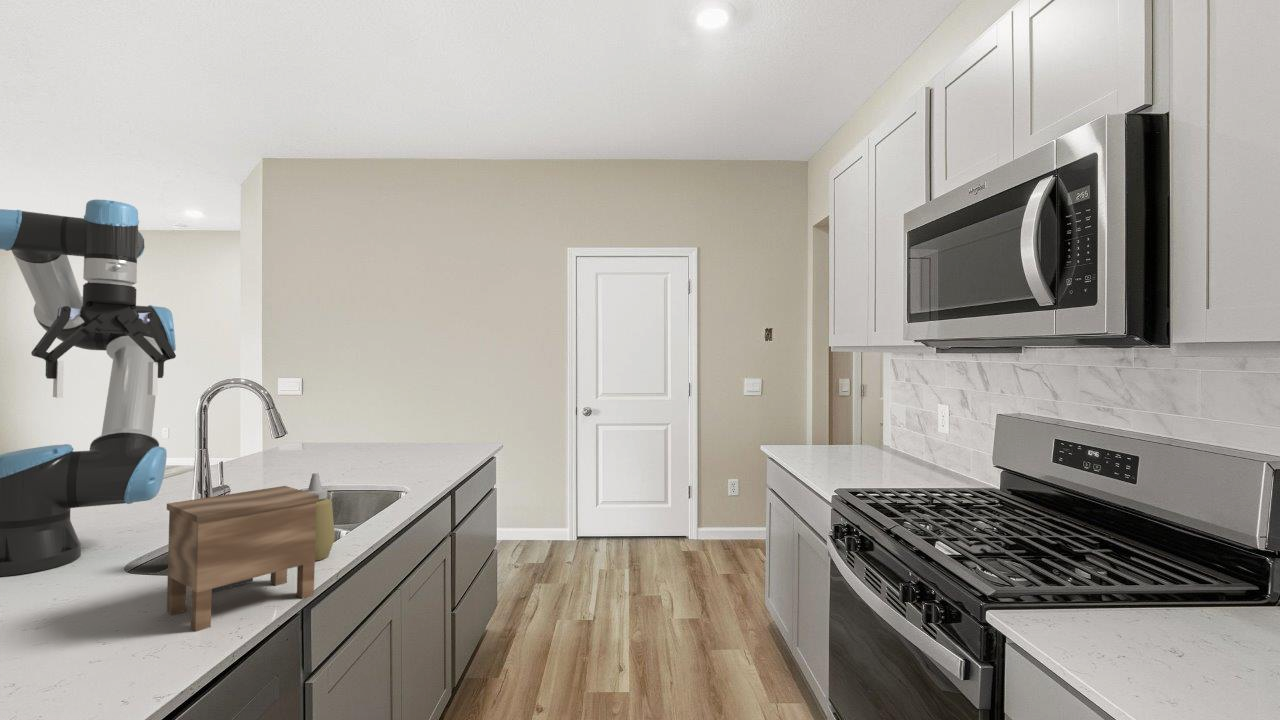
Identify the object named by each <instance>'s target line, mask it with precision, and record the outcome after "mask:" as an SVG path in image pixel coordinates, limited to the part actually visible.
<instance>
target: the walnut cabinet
mask: <svg viewBox="0 0 1280 720" xmlns="http://www.w3.org/2000/svg"><path fill="white" fill-rule="evenodd" d="M316 501H319V495H316V494H312V493H309V492H305V490H302V489H298V488H294V487H290V486H287V485H282V486H275V487H268V488H263V489H255V490H248V491H243V492H235V493H229V494H222V495H215V496H210V497H209V496H208V497H203V498H196V499H195V498H194V499H190V500H183V501H177V502H176V501H175V502H168V503H166V511H169V516H168V517H169V518H168V519H169V520H168V546H167V547H168V551H167V552H168V553H167V559H168V560H167V587H166V588H167V590H166V591H167V592H166V594H167V596H166V613H168V614H170V615H175V614H179V613H182V612H185V611H187V588H188V589H189V590H191V593H190V595H191V596H190V598H191V599H190V629H191V630H193V631H194V632H198V631H201V630H205V629H208V628H210V627H212V625H211V623H212V621H211V620H212V619H211V618H212V593H213V592H212V589H213V588H216V587H220V586H224V585H228V584H232V583H236V582H239V581H243V580H247V579H251V578H253V579H254V578H258V577H262V576H265V575H269V574H270V584H271V585H274V586H279V585H283V584H286V583H288V569H292V568H296V567H297V572H296V573H297V574H296V575H297V577H296V596H297V597H298V598H300V599H305V598H309V597H311V596H314V595H315V567H316V565H315V563H316V561H315V530H316Z"/></svg>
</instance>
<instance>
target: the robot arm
mask: <svg viewBox="0 0 1280 720" xmlns="http://www.w3.org/2000/svg"><path fill="white" fill-rule="evenodd" d="M85 204H86V205H85V213H84V215H83V217H74V216H66V215H58V214H57V215H56V214H52V213H51V214H49V213H42V212H34V211H26V210H21V209H1V208H0V250H4V251H7V252H8V251H11V253H12V255H13V256H14V260H15V261H16V263H17V265H18V268H19V269H20V272H21V274H22V276H23V278H24V281H25V284H26V285H27V287H28V289H29V292H30V294H31V296H32V298H33V300H34V302H35V303H34V306H33V314H34V317H35V319H36V320H37V323H38V324H39V325H40V326H41V327H42V329H44V330H45V331H46V332H45V333H44V334H43V336H42V337H41V338H40V339H39V341H38V343H37V344H36V345H35V346H34V348H33V349H32V351H31V352H30V353H31V356H33V357H35V358H39V359H42V360H44V361H45V377H46V379H49V380H50V379H51V380H52V379H53V380H52V381H53V384H52V386H53V388H52V397H53V398H59V399H60V398H64V395H63V394H64V365H65V361H63V360H58V359H59V358H61V357H62V356H63V355H65V354H66V353H67V352H68V351H69V350H70V349H72V348H73V347H76V348H79V349H82V350H83V349H84V350H89V351H106V354H107V355H108V357H109V358H110V359H112V365H111V370H110V378H109V384H108V385H109V386H108V388H107V389H108V391H107V395H106V396H107V397H106V402H105V403H106V405H105V409H104V416H103V423H102V431H101V434H100V435H99V436H98V437H95V438H94V439H93V440H92V441H91V443H90V445H89V450H80V451H79V450H76V451H74V447H73V446H72V444H66V443H65V444H54V445H46V446H39V447H32V448H25V449H20V450H19V449H18V450H14V451H9V452H5V453H2V454H0V577H5V576H6V577H9V576H16V575H17V576H18V575H23V574H29V573H34V572H35V573H36V572H41V571H45V570H50V569H53V568H57V567H61V566H64V565H67V564H69V563H72V562H74V561H76V560H78V559H80V558H81V557H82V545H81V544H82V543H81V542H80V539H79V537H78V535H77V533H76V530H75V528H74V525H73V524H72V521H71V509H74V508H87V507H98V506H110V505H122V504H127V505H130V504H134V503H138V502H139V503H140V502H147V501H151V500H153V499H154V498H155V497H157V496H158V494H159V492H160V490H161V487H162V485H163V480H164V477H165V471H166V464H167V458H168V457H167V449H166V447H164V446H160V442H159V441H158V439H157V438H156V437H154V436H153V426H154V417H155V408H156V396H158V381H159V380H158V379H163V377H164V374H165V373H164V372H165V366H164V365H165V362H166V361H170V360H174V359H175V358H176V356H177V355H176V353H175V351H176V346H177V345H176V336H175V335H176V334H175V324H174V317H173V313H172V311H171V310H170V309H169V308H167V307H166V306H165V307H164V306H156V305H155V306H154V305H152V304H151V305H150V304H149V305H137V288H136V287H135V286H133V285H136V284H137V283H138V282H137V279H138V278H137V275H138V274H137V272H138V270H137V267H138V266H137V265H138V258H140V257H141V256H142V255H143V254H144V251H145V249H146V248H145V247H146V246H145V239H144V237H143V234H142V233H141V232H140V231H139V223H140V220H139V210H138V209H137V208H136V207H135V206H134V205H132V204H129V203H125V202H122V201H116V200H108V199H90V200H88V201H87V202H86V203H85ZM68 256H73V257H74V256H75V257H83V280H84V281H86V282H84V284H82V295H81V291H80V290H79V289H80V288H79V287H78V283H77V280H76V277H75V275H74V272H73V268H72V266H71V262H70V259H69V258H68ZM56 339H57V340H59V341H61V342H60V343H59V344H58V345H57V346H56V347H54V348H53V349H52V350H51V351H48V350H49V349H50V347H51V346H52V344H53V343H54V342H55V340H56Z"/></svg>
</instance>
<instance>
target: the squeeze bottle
mask: <svg viewBox="0 0 1280 720" xmlns="http://www.w3.org/2000/svg"><path fill="white" fill-rule="evenodd" d="M304 491H305V492H309V493H312V494H316V495H319V501H316V530H315V562H316V561H321V560H324V559H326V558H328V557H329V556H330V552H331V550H332V547H333V545H334V542H335V540H336V534H335V523H334V514H333V513H334V512H333V502H332V500H330V499H329V498H328V489H326V488H322V483H321V479H320V475H319V472H317V473H311V478H310V482H309V485H308V489H305V490H304Z"/></svg>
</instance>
